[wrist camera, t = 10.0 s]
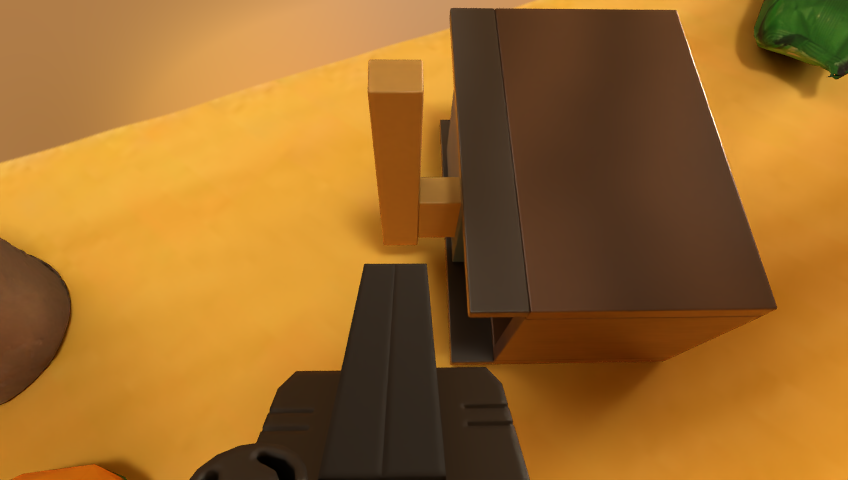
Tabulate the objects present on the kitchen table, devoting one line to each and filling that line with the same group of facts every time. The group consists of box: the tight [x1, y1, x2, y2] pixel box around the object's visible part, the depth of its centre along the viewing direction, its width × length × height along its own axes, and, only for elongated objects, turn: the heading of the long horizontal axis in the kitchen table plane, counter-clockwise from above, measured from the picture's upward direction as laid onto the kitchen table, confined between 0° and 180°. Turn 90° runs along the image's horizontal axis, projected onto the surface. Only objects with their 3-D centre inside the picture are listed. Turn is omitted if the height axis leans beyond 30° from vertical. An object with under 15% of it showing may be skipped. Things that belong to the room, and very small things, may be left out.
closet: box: [440, 8, 777, 365], centre depth 28 cm, size 12×17×10 cm
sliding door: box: [368, 60, 465, 262], centre depth 26 cm, size 5×8×14 cm, turn 1°
